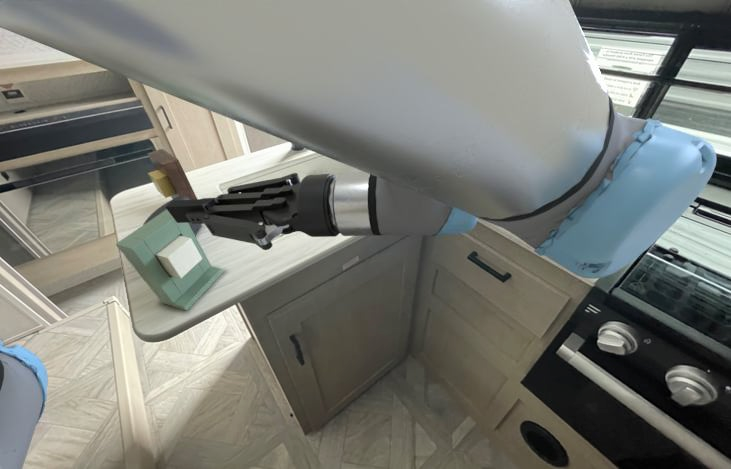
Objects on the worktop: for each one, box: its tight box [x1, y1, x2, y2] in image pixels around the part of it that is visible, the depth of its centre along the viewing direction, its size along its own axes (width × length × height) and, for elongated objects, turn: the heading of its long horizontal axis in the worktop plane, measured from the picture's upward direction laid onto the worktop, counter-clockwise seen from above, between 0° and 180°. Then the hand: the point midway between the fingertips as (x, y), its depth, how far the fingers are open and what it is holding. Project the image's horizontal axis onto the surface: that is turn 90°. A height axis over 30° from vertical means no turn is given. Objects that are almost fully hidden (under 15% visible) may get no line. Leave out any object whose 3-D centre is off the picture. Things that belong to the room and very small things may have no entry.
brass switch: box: [147, 169, 176, 199], centre depth 72 cm, size 3×5×5 cm, turn 49°
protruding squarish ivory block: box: [154, 235, 202, 278], centre depth 51 cm, size 3×5×5 cm, turn 161°
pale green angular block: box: [115, 209, 224, 312], centre depth 53 cm, size 6×10×15 cm, turn 161°
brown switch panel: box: [147, 148, 198, 200], centre depth 73 cm, size 6×10×15 cm, turn 49°
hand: (174, 211), depth 39 cm, fingers closed
